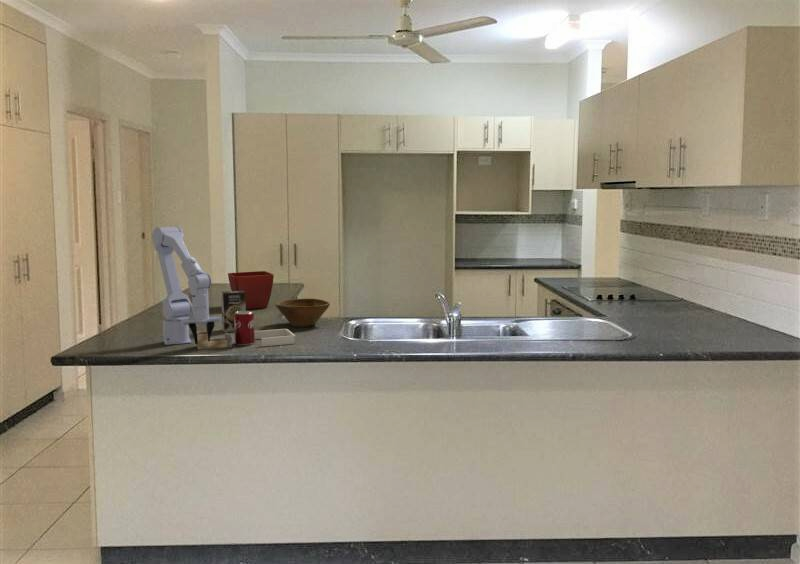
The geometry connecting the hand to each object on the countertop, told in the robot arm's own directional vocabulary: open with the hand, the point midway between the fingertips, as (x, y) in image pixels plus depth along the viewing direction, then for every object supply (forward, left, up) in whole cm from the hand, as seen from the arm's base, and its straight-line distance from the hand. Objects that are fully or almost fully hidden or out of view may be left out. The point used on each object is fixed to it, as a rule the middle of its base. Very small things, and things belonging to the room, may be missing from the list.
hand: (202, 343), depth 251 cm
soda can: (+16, 0, -2) cm, 16 cm away
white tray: (+27, 0, -2) cm, 27 cm away
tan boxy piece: (+4, 0, -2) cm, 4 cm away
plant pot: (+33, +83, -2) cm, 89 cm away
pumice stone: (+8, +101, -2) cm, 102 cm away
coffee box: (+16, +28, -2) cm, 32 cm away
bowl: (+45, +27, -2) cm, 53 cm away
